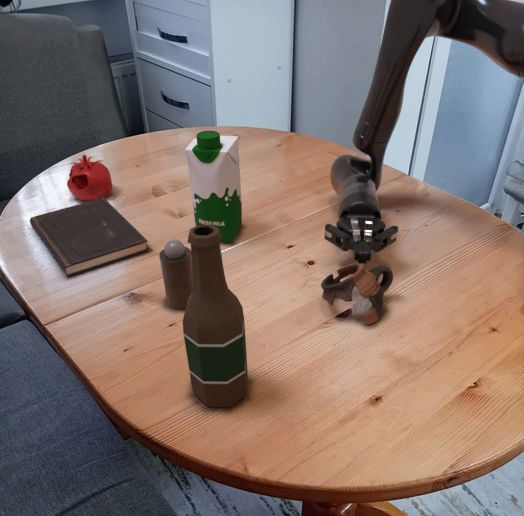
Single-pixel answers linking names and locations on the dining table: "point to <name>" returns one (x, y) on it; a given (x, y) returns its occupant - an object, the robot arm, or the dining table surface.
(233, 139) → the milk carton
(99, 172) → the pomegranate
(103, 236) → the hardcover book
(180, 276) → the roll-on deodorant
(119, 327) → the dining table surface
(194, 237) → the beer bottle
